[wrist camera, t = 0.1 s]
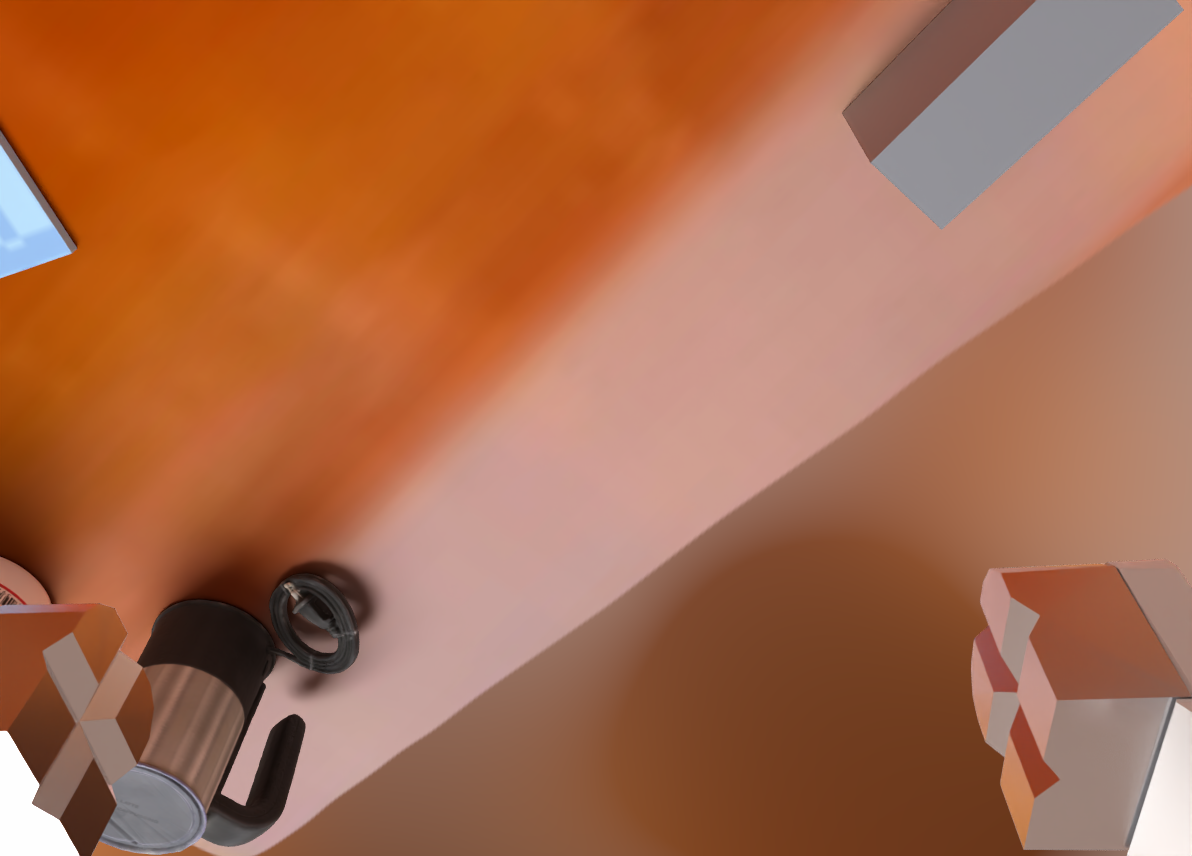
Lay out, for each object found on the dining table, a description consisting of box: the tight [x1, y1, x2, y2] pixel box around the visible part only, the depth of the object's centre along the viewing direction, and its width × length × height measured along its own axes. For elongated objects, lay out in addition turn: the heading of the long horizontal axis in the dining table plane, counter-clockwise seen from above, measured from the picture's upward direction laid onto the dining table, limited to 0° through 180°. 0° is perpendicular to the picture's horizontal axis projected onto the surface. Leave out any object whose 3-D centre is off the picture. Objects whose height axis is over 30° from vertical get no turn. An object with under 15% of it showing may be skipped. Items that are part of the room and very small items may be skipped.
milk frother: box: [99, 573, 359, 855], centre depth 70 cm, size 14×16×15 cm
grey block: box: [842, 0, 1184, 229], centre depth 49 cm, size 13×5×8 cm, turn 140°
